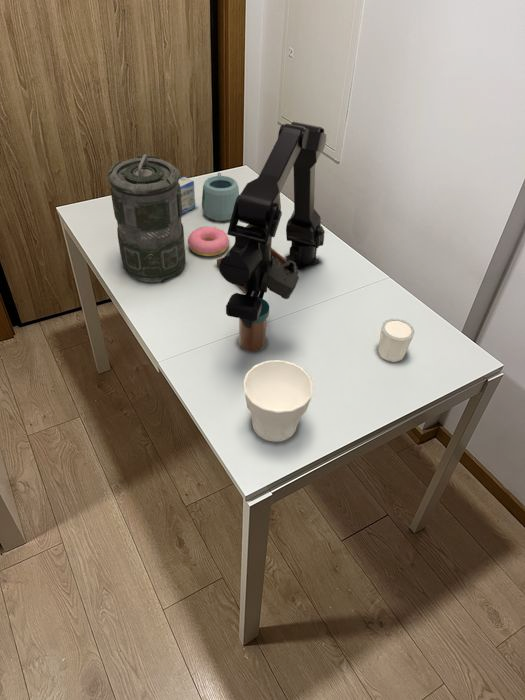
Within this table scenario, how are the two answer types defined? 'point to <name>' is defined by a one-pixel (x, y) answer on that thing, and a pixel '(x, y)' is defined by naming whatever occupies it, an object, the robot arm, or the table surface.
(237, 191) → the mug
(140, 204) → the canister
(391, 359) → the cream cylinder
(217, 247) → the doughnut
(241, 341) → the jar
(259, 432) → the cream flower pot
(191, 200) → the medicine box
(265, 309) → the lid
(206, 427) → the table surface
